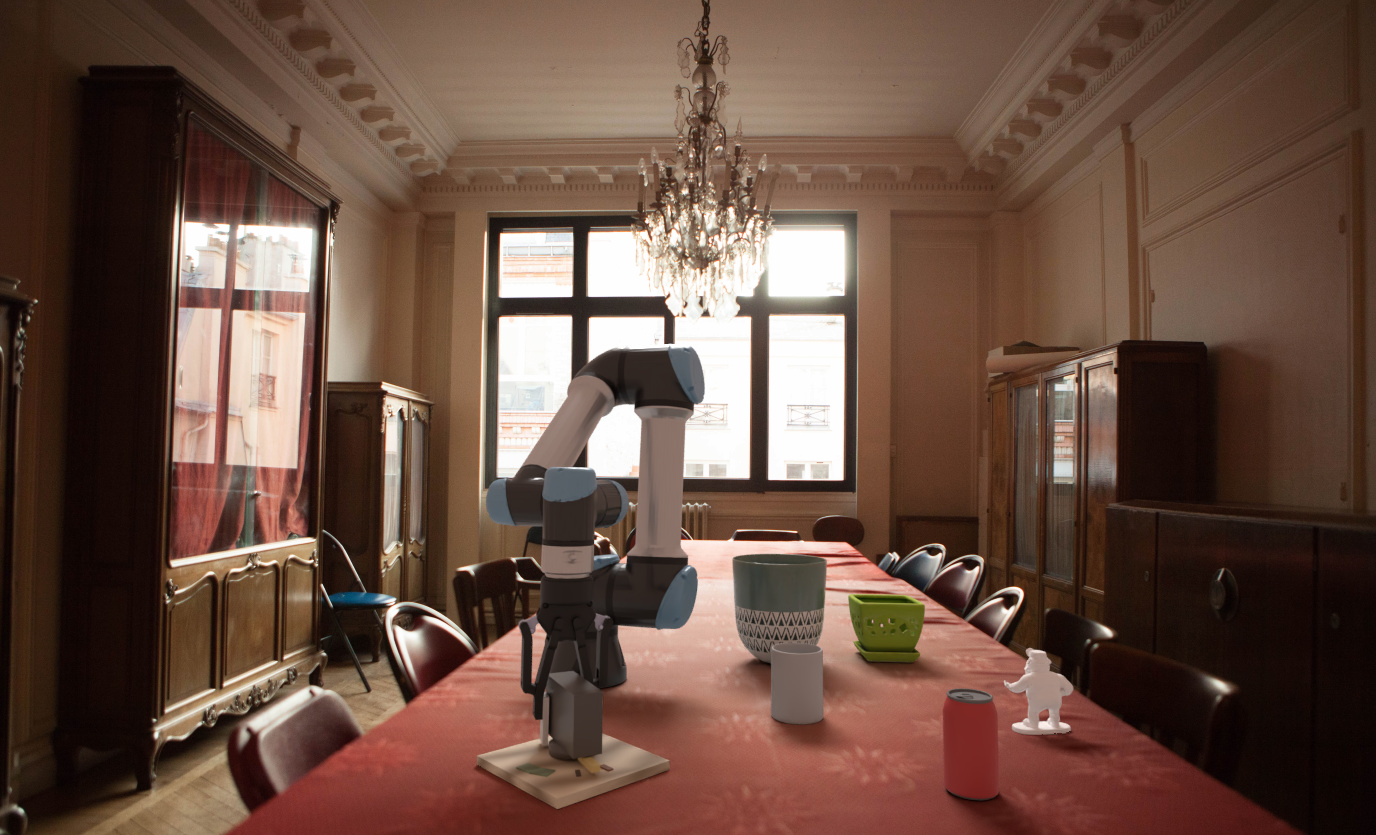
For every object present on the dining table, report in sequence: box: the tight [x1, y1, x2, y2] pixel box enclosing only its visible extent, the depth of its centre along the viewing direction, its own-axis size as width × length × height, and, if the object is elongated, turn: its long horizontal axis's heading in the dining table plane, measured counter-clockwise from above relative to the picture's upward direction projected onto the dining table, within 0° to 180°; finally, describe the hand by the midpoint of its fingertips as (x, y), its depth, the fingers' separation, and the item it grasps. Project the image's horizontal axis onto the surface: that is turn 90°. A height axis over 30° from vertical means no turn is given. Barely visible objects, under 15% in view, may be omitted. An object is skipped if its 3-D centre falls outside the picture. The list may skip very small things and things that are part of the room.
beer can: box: [942, 687, 1000, 801], centre depth 99 cm, size 7×7×12 cm
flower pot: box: [848, 593, 926, 664], centre depth 169 cm, size 14×14×13 cm
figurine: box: [1003, 647, 1074, 736], centre depth 123 cm, size 9×7×12 cm
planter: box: [731, 553, 828, 664], centre depth 165 cm, size 20×20×21 cm
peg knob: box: [545, 671, 604, 773], centre depth 106 cm, size 15×6×9 cm, turn 27°
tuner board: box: [476, 732, 671, 810], centre depth 106 cm, size 19×18×1 cm
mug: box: [770, 643, 824, 725], centre depth 130 cm, size 12×8×11 cm
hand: (562, 740), depth 111 cm, fingers closed on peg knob, 5 cm apart
